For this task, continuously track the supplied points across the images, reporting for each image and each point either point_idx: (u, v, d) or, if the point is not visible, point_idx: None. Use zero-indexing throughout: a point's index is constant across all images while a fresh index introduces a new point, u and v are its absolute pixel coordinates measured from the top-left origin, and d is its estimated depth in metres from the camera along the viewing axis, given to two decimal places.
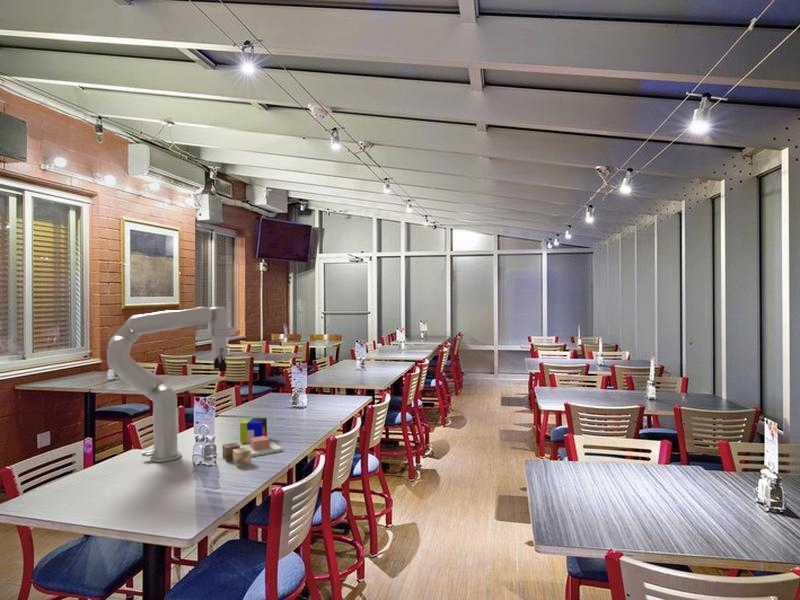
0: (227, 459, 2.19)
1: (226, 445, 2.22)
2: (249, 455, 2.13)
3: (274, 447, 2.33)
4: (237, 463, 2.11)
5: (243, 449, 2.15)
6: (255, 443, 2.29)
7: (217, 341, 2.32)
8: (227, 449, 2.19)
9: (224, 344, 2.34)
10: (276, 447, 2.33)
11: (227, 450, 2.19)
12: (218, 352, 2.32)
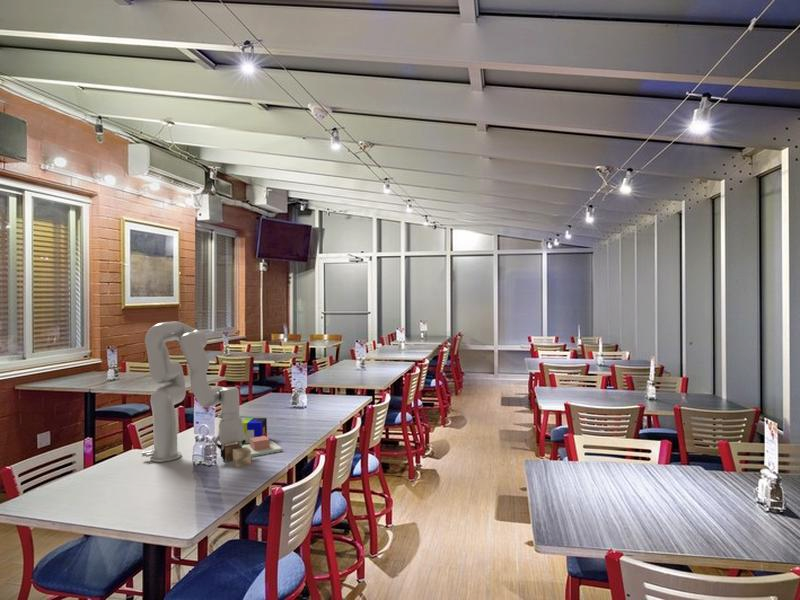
0: (227, 459, 2.19)
1: (226, 445, 2.22)
2: (249, 455, 2.14)
3: (274, 447, 2.33)
4: (237, 463, 2.11)
5: (243, 449, 2.16)
6: (255, 443, 2.29)
7: None
8: (227, 449, 2.19)
9: None
10: (276, 447, 2.33)
11: (227, 450, 2.19)
12: (243, 434, 2.24)
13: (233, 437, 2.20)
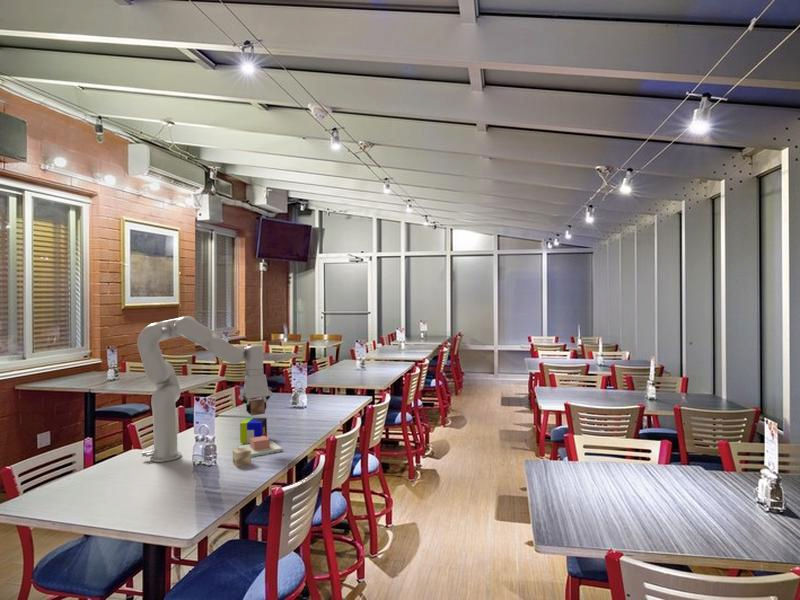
0: (253, 413, 2.28)
1: (251, 400, 2.32)
2: (249, 455, 2.14)
3: (274, 447, 2.33)
4: (237, 463, 2.11)
5: (243, 449, 2.16)
6: (255, 443, 2.29)
7: (266, 379, 2.33)
8: (252, 403, 2.28)
9: None
10: (276, 447, 2.33)
11: (252, 404, 2.28)
12: None
13: (258, 392, 2.30)
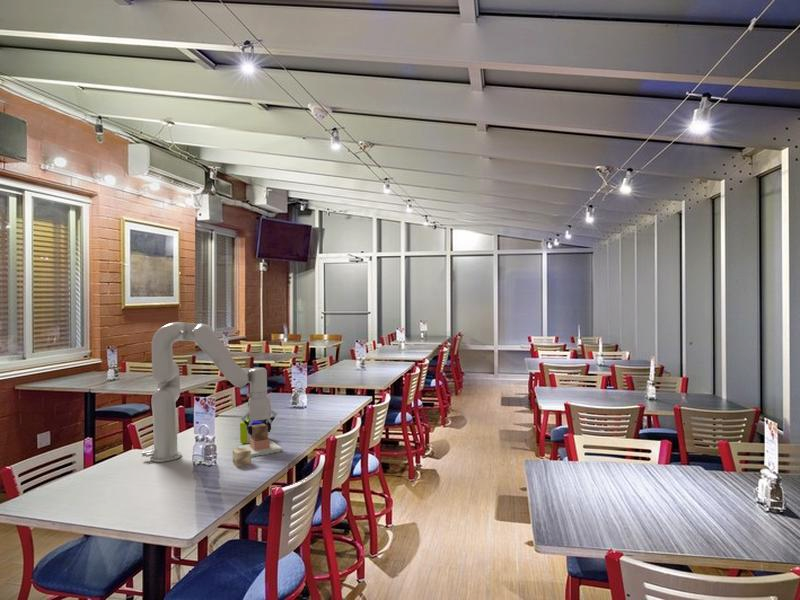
0: (256, 439, 2.30)
1: (254, 426, 2.33)
2: (249, 455, 2.14)
3: (274, 447, 2.33)
4: (237, 463, 2.11)
5: (243, 449, 2.16)
6: (255, 443, 2.29)
7: (269, 401, 2.35)
8: (256, 429, 2.30)
9: None
10: (276, 447, 2.33)
11: (256, 430, 2.30)
12: None
13: (261, 415, 2.32)
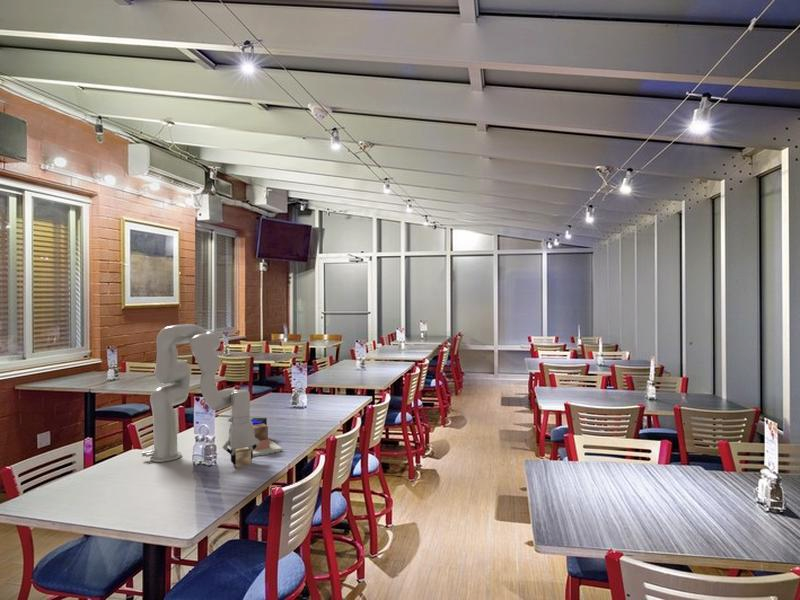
0: None
1: (254, 426, 2.33)
2: (249, 455, 2.14)
3: (274, 447, 2.33)
4: (237, 463, 2.11)
5: (243, 449, 2.16)
6: None
7: (253, 427, 2.16)
8: (256, 429, 2.30)
9: None
10: (276, 447, 2.33)
11: (256, 430, 2.30)
12: None
13: (244, 442, 2.13)
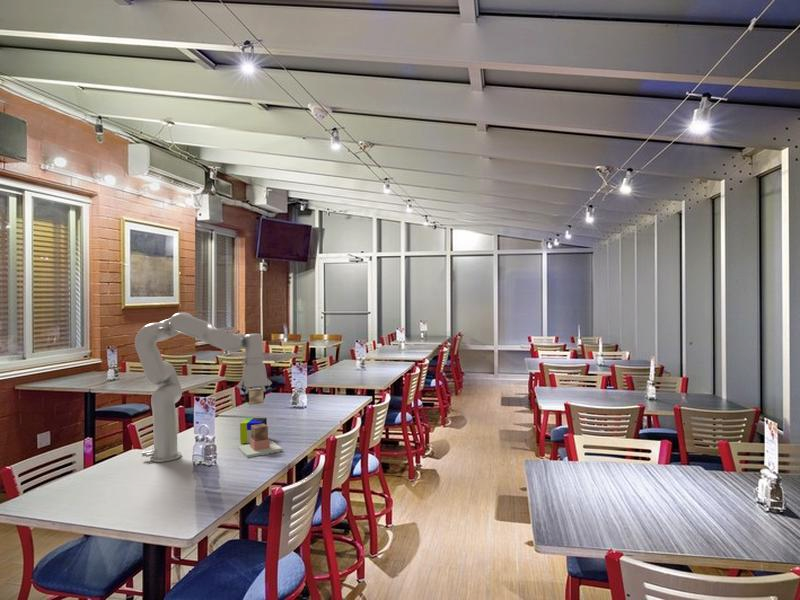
0: (256, 439, 2.30)
1: (254, 426, 2.33)
2: (262, 394, 2.28)
3: (274, 447, 2.33)
4: (250, 401, 2.25)
5: (256, 389, 2.30)
6: (255, 443, 2.29)
7: (265, 368, 2.30)
8: (256, 429, 2.30)
9: None
10: (276, 447, 2.33)
11: (256, 430, 2.30)
12: None
13: (257, 381, 2.27)
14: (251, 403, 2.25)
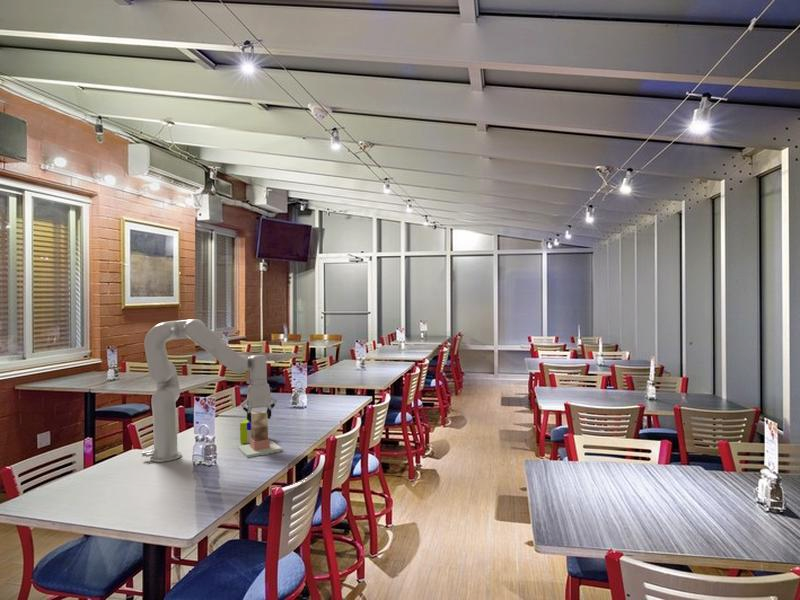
0: (256, 439, 2.30)
1: None
2: (266, 417, 2.32)
3: (274, 447, 2.33)
4: (255, 424, 2.30)
5: (260, 412, 2.34)
6: (255, 443, 2.29)
7: (269, 388, 2.35)
8: (256, 429, 2.30)
9: None
10: (276, 447, 2.33)
11: (256, 430, 2.30)
12: None
13: (261, 402, 2.32)
14: (255, 426, 2.30)
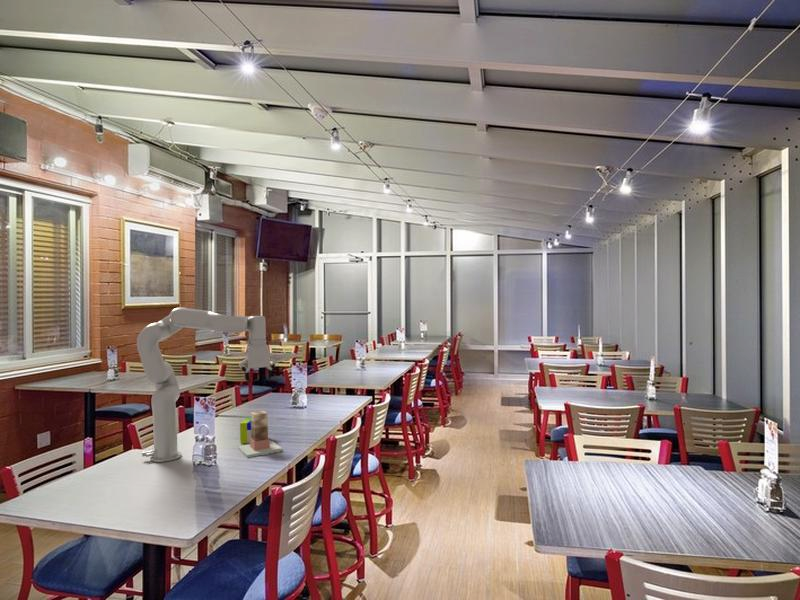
0: (256, 439, 2.30)
1: None
2: (266, 417, 2.32)
3: (274, 447, 2.33)
4: (255, 424, 2.30)
5: (260, 412, 2.34)
6: (255, 443, 2.29)
7: (268, 349, 2.34)
8: (256, 429, 2.30)
9: None
10: (276, 447, 2.33)
11: (256, 430, 2.30)
12: None
13: (260, 362, 2.31)
14: (255, 426, 2.30)
